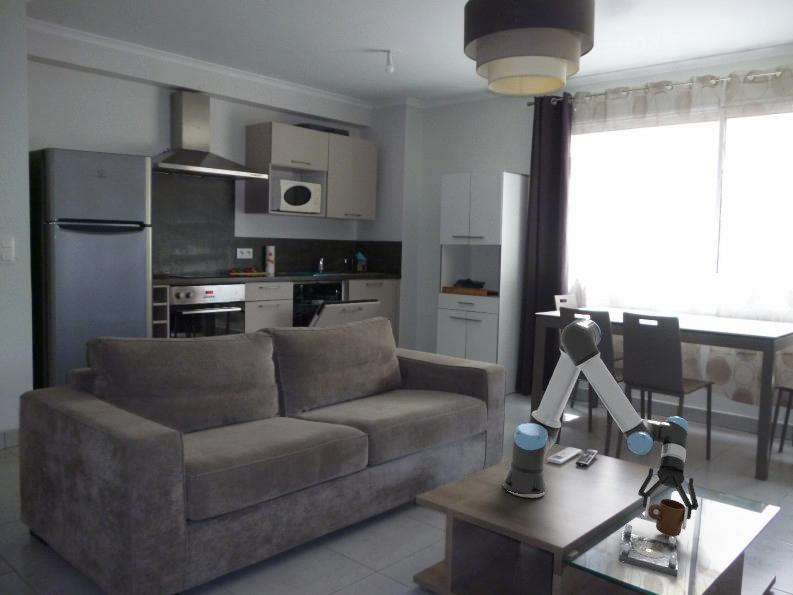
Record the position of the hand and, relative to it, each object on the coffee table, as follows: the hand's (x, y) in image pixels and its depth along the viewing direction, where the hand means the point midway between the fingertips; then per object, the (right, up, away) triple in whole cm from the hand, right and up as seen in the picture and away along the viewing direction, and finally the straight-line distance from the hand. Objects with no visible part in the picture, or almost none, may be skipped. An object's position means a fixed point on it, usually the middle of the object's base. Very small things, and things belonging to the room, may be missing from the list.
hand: (664, 522), depth 209 cm
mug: (0, -4, +3) cm, 5 cm away
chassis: (-9, -7, -10) cm, 15 cm away
